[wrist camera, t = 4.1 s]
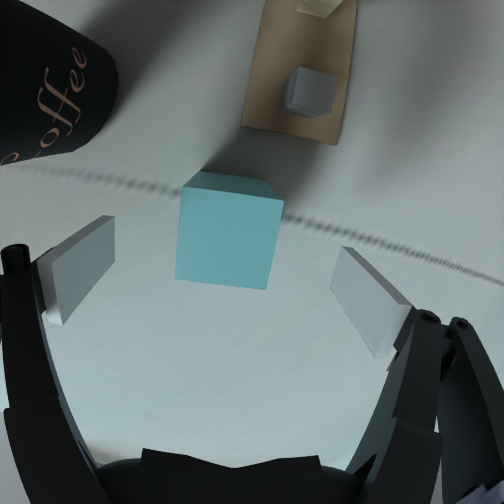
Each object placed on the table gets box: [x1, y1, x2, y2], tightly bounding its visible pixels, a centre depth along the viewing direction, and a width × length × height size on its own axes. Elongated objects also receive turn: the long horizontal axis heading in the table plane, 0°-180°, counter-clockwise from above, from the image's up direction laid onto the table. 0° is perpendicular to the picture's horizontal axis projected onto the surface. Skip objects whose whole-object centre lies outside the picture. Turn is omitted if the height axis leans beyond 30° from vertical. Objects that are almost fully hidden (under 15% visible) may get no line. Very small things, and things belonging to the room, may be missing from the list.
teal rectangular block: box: [175, 171, 284, 290], centre depth 20 cm, size 6×6×9 cm
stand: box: [241, 0, 357, 145], centre depth 14 cm, size 8×16×10 cm, turn 171°
